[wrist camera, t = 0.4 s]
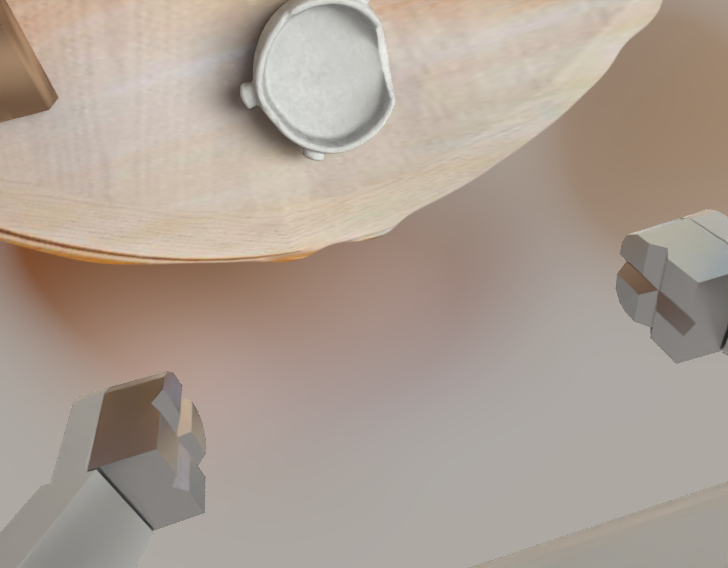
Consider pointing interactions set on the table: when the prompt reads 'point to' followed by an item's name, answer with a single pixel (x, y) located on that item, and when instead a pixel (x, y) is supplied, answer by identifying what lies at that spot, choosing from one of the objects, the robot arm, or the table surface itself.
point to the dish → (322, 75)
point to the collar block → (20, 72)
